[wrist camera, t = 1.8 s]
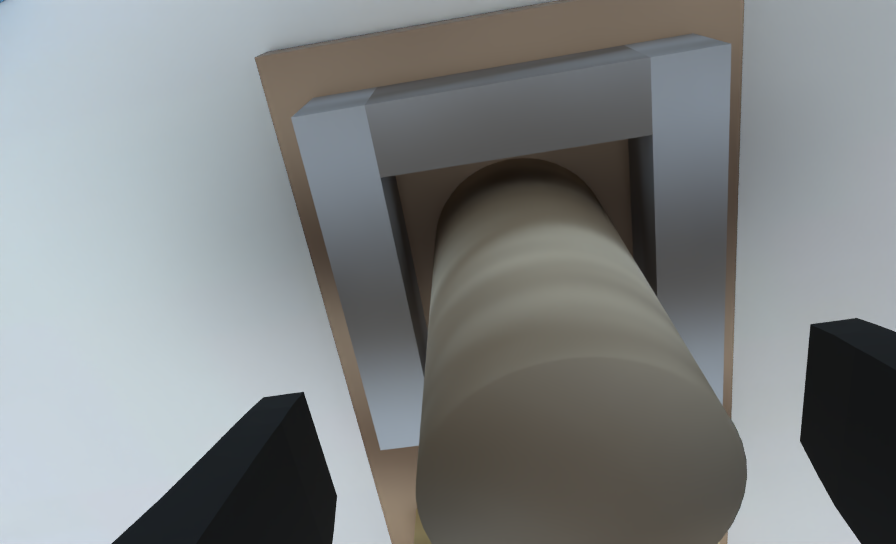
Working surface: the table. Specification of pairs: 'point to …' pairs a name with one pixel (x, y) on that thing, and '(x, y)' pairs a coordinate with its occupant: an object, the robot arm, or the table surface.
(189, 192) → the table surface
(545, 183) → the beige cylinder
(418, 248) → the dock
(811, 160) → the table surface
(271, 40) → the table surface
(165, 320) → the table surface
